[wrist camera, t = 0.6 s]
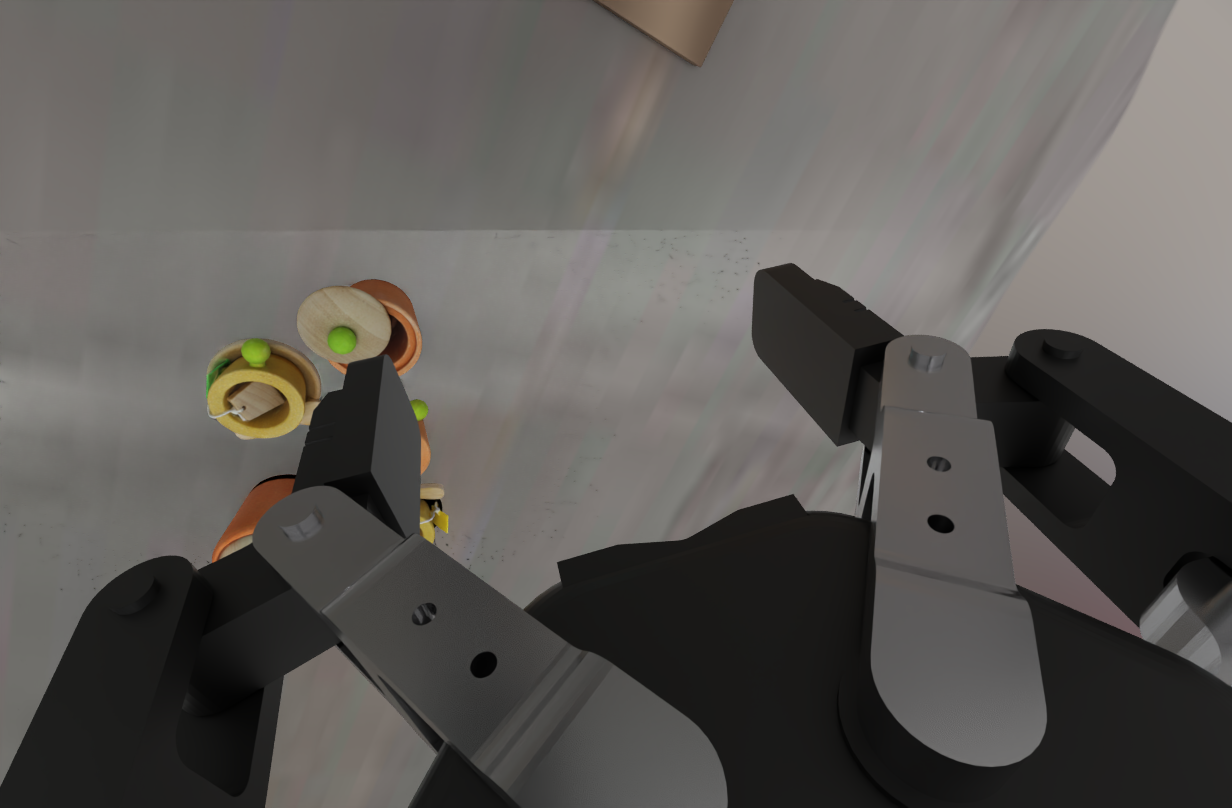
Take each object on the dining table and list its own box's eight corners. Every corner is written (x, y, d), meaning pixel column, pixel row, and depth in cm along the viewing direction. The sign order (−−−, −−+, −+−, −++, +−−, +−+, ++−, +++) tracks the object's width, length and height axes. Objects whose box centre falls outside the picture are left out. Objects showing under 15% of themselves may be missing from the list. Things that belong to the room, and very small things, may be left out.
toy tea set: (449, 535, 51) (451, 628, 44) (254, 552, 47) (220, 660, 39) (441, 259, 37) (442, 328, 29) (159, 246, 33) (76, 324, 25)
